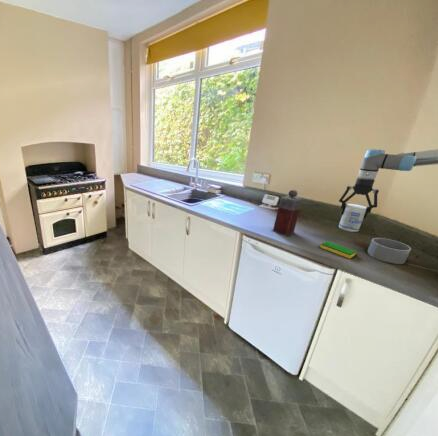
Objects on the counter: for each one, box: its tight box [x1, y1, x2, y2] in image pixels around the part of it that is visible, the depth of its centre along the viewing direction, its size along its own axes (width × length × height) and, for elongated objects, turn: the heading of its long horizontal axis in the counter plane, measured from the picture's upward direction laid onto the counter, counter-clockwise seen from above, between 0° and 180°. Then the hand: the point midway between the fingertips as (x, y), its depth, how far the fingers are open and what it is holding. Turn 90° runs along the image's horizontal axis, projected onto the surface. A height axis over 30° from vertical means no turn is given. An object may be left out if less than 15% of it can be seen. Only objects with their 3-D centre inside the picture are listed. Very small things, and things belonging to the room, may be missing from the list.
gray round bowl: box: [367, 237, 412, 265], centre depth 122 cm, size 15×15×8 cm
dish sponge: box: [320, 240, 357, 259], centre depth 128 cm, size 7×14×2 cm, turn 32°
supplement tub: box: [338, 203, 367, 233], centre depth 139 cm, size 10×10×15 cm
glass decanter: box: [272, 189, 304, 237], centre depth 147 cm, size 9×11×28 cm
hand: (352, 215), depth 139 cm, fingers closed on supplement tub, 9 cm apart
